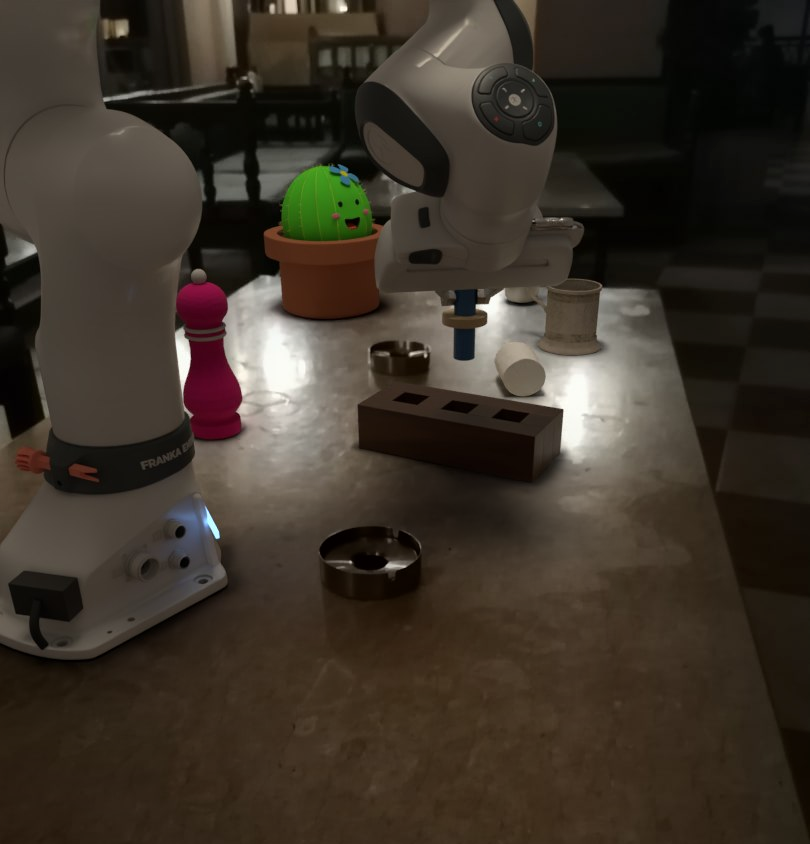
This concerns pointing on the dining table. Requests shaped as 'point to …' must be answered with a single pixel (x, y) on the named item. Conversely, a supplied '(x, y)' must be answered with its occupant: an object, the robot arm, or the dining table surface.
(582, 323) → the mug
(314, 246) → the potted cactus
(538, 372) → the roll
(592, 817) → the dining table surface
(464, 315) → the peg
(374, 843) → the dining table surface
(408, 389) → the stand
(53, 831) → the dining table surface
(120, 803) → the dining table surface
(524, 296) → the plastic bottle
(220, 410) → the pepper mill
